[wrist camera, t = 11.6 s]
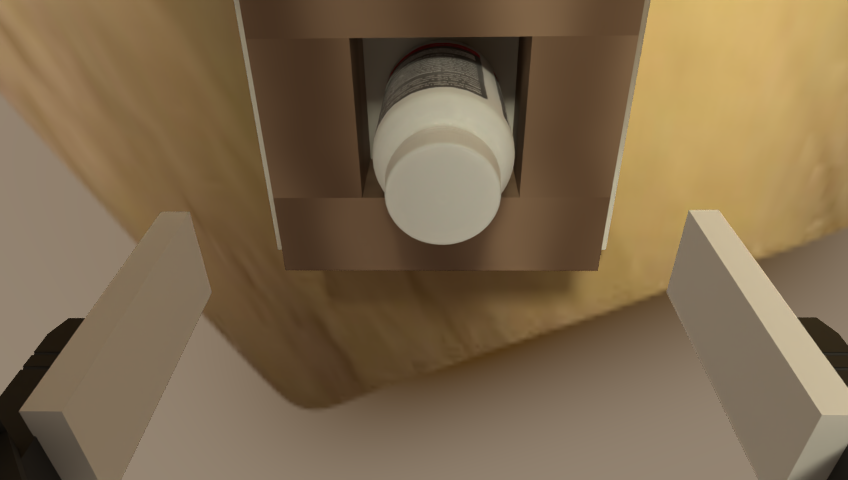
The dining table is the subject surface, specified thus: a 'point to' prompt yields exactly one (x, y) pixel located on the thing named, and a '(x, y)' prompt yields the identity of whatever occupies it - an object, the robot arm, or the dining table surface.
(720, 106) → the dining table surface
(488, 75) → the pill bottle
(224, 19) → the dining table surface
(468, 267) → the socket block
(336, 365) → the dining table surface
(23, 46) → the dining table surface
